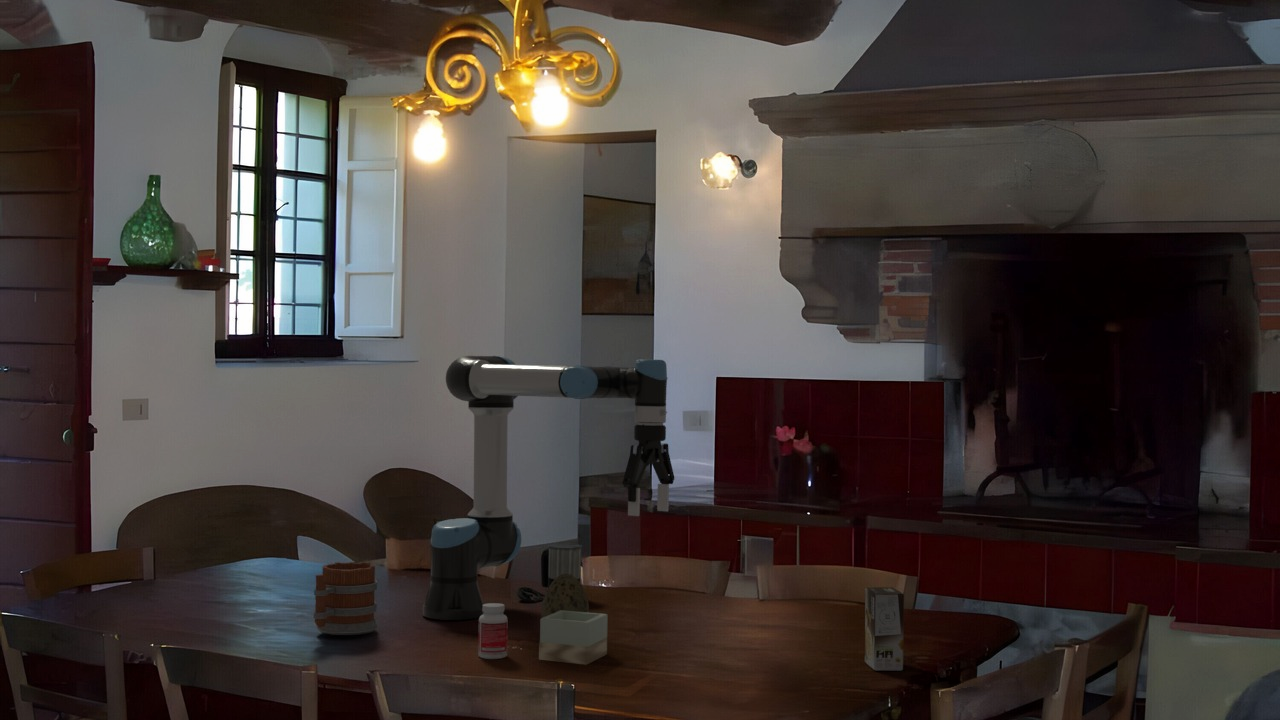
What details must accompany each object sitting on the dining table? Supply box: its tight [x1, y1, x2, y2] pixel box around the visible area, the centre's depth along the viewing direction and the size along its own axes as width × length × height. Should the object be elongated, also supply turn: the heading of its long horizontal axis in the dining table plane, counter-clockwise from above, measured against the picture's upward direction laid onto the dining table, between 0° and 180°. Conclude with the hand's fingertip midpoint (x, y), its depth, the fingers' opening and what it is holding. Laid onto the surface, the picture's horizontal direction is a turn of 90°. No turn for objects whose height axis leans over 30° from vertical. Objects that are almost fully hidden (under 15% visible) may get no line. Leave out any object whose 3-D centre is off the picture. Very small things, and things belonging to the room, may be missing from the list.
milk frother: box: [516, 542, 583, 604], centre depth 354 cm, size 14×16×15 cm
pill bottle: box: [477, 602, 509, 660], centre depth 285 cm, size 6×6×11 cm
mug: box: [313, 561, 379, 636], centre depth 309 cm, size 14×19×15 cm
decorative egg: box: [541, 574, 590, 618], centre depth 304 cm, size 11×11×15 cm
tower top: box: [539, 610, 608, 647], centre depth 286 cm, size 11×11×5 cm
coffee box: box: [864, 586, 905, 672], centre depth 282 cm, size 9×6×16 cm
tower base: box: [538, 637, 608, 666], centre depth 286 cm, size 11×11×4 cm
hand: (648, 513), depth 318 cm, fingers open, 13 cm apart
